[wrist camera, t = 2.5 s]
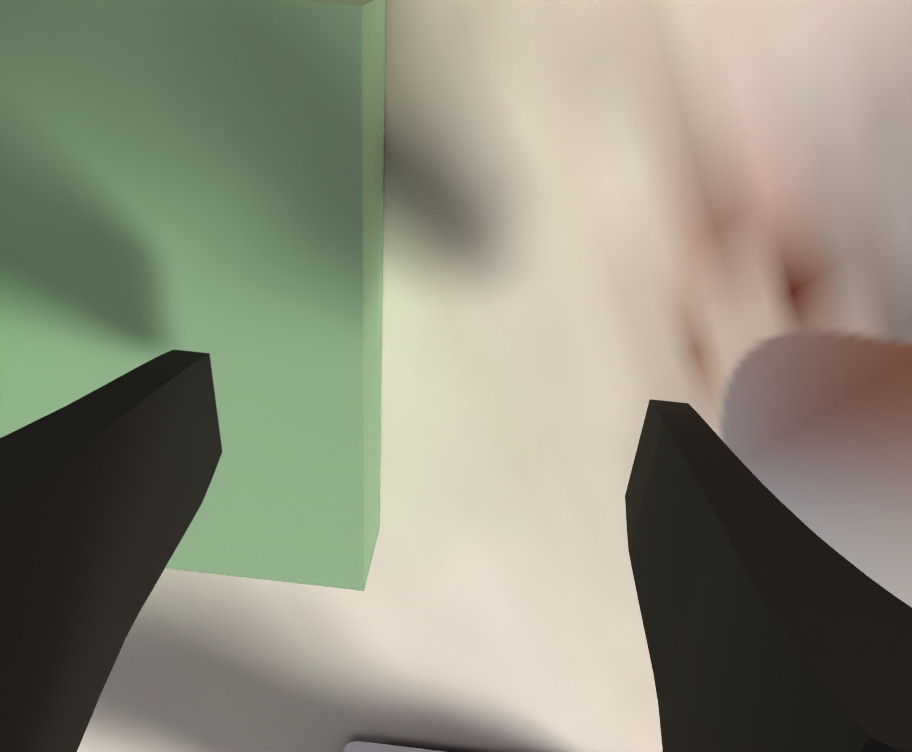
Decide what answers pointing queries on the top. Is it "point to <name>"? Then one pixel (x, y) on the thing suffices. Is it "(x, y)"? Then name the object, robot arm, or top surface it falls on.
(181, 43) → the green holed board
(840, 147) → the top surface
